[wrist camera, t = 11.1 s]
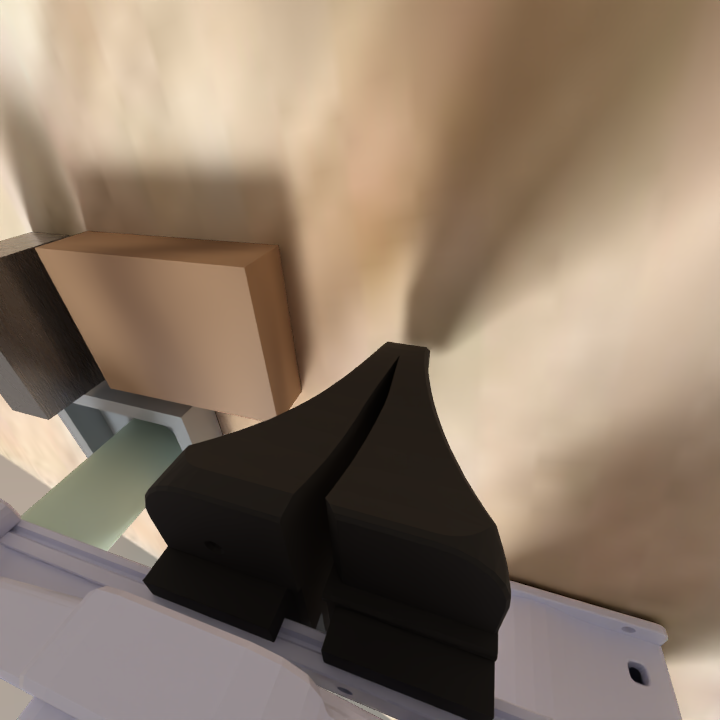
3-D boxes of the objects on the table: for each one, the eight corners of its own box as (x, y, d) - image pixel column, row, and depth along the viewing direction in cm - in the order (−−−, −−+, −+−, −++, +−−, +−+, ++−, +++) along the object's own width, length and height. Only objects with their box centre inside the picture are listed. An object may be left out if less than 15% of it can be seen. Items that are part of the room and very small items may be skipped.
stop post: (68, 235, 14) (-54, 274, 11) (128, 362, 18) (48, 419, 14) (31, 232, 15) (-96, 268, 12) (96, 356, 18) (12, 410, 15)
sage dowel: (196, 470, 21) (96, 590, 16) (146, 457, 22) (37, 567, 17) (173, 423, 19) (50, 544, 14) (119, 412, 20) (-14, 520, 15)
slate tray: (207, 391, 17) (181, 417, 16) (245, 500, 22) (227, 528, 20) (71, 362, 19) (36, 383, 18) (132, 467, 24) (109, 490, 23)
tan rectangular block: (284, 241, 12) (244, 267, 10) (305, 385, 15) (278, 424, 14) (96, 228, 14) (34, 248, 12) (152, 357, 18) (110, 388, 16)
